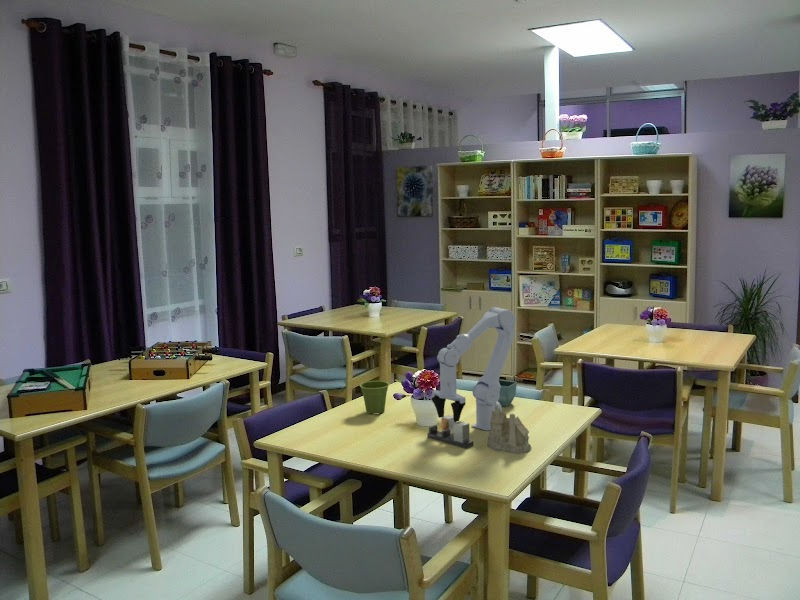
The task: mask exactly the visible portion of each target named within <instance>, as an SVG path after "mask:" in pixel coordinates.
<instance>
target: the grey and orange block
mask: <svg viewBox="0 0 800 600" xmlns="http://www.w3.org/2000/svg"><path fill="white" fill-rule="evenodd" d="M440 421H441V422H440V423H441V425H440V426H441V432H442V431H444V430H447V429H450V435H454V433H453V424H454V423H457V422H458V421H457V422H454V419H453V414H447V415H444V416H443V417H441V420H440Z"/></svg>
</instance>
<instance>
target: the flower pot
mask: <svg viewBox="0 0 800 600" xmlns="http://www.w3.org/2000/svg"><path fill="white" fill-rule="evenodd" d="M499 383H500V386H501V388H500V391H499V394H500V396H499V400H498V402H499V403H500V404H501V407H502V406H503V407H507V406H509V405H511V404H512V403H513V400H514V399H515V397H516V392H517V386H518V385H517V384H518V382H517V381H513V380H502V379H499Z"/></svg>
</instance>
